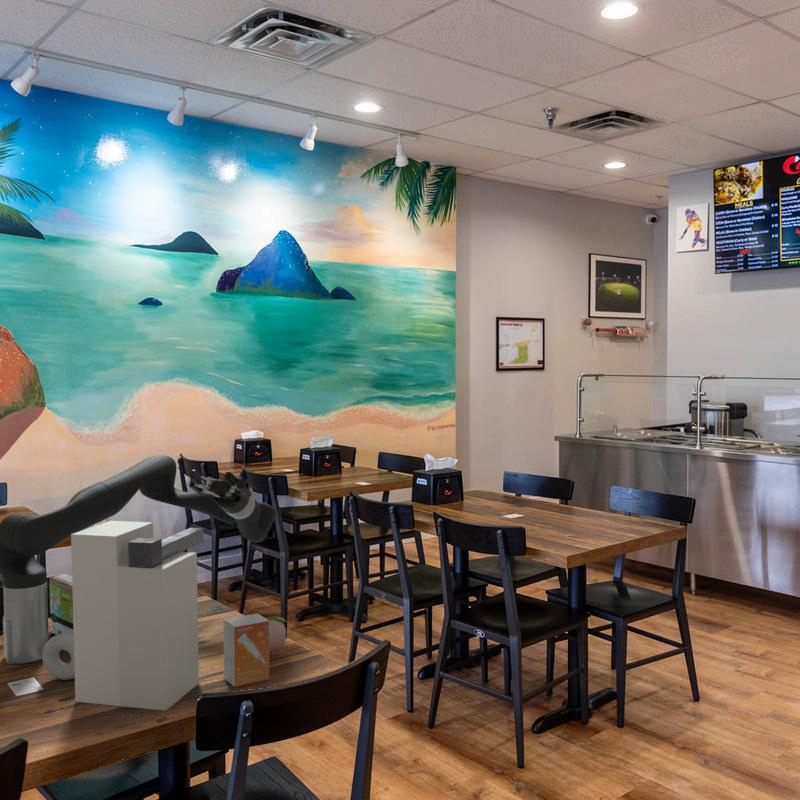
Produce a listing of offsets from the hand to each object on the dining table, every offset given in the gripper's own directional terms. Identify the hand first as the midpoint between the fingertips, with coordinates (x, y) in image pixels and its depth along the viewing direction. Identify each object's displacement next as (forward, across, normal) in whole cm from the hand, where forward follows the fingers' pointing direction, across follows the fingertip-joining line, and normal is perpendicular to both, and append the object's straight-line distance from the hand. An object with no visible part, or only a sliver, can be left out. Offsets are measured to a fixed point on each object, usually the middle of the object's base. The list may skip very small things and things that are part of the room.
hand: (209, 474), depth 189 cm
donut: (-4, +24, -47) cm, 53 cm away
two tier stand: (-1, +5, -48) cm, 49 cm away
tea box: (-26, +38, -34) cm, 57 cm away
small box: (-11, -14, -43) cm, 46 cm away
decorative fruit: (-23, -13, -36) cm, 44 cm away
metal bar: (+9, 0, -22) cm, 23 cm away
